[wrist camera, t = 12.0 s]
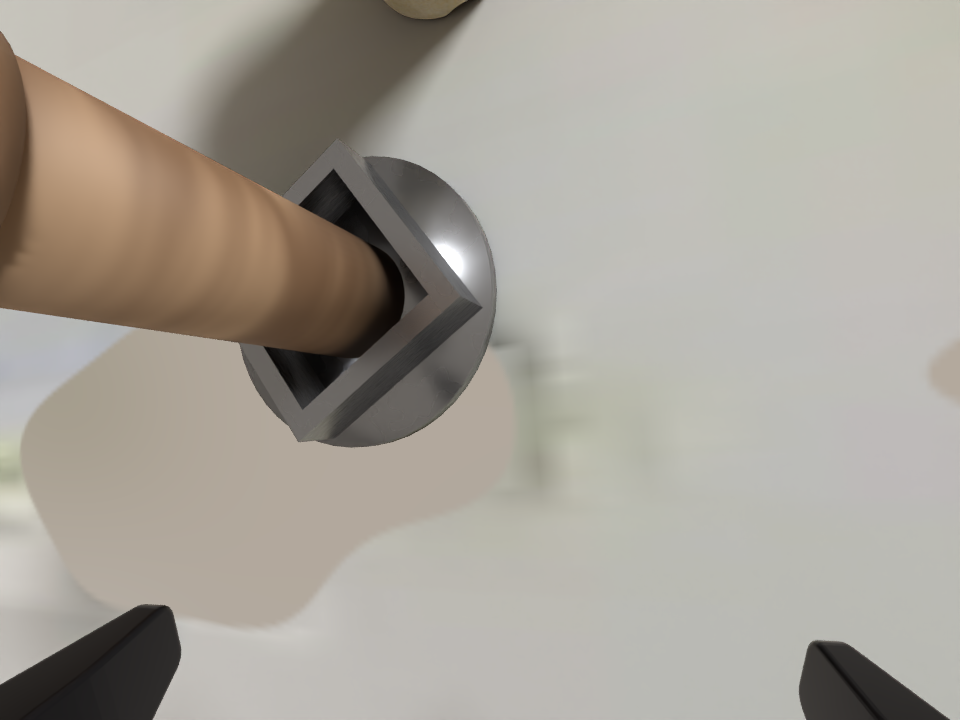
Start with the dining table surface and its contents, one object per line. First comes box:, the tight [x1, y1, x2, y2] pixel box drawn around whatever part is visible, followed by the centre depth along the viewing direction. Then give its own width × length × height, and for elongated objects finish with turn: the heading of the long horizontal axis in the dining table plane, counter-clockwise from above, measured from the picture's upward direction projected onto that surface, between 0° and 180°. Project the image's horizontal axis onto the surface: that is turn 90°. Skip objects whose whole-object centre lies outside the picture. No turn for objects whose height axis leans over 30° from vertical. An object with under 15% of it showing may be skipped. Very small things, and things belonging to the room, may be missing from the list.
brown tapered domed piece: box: [0, 31, 405, 358], centre depth 15 cm, size 5×5×14 cm
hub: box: [239, 138, 497, 447], centre depth 21 cm, size 12×12×3 cm
